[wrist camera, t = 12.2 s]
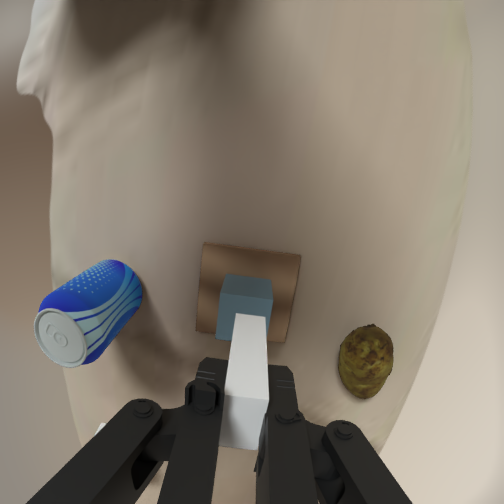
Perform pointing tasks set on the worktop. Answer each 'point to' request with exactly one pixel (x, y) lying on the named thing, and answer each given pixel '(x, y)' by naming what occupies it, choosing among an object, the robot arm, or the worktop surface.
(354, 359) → the brown oval lump
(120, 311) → the beer can
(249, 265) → the tan square panel
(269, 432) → the robot arm
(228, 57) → the worktop surface
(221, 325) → the light blue chamfered box
